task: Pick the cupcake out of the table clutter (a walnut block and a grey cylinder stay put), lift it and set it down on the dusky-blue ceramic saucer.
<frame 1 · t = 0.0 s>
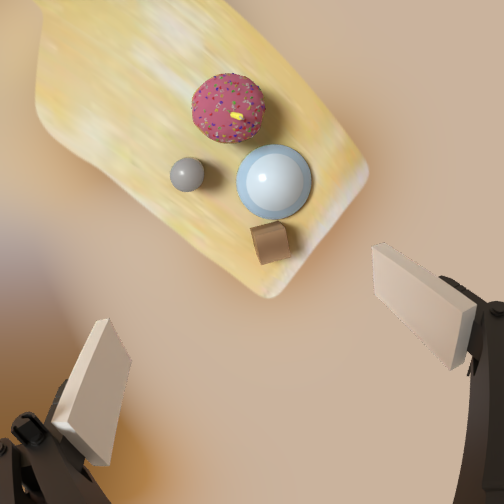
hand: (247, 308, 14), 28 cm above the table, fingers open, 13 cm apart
walnut block: (267, 237, 43), on the table
saucer: (273, 181, 40), on the table
cupcake: (225, 112, 36), on the table
grey cylinder: (188, 172, 38), on the table
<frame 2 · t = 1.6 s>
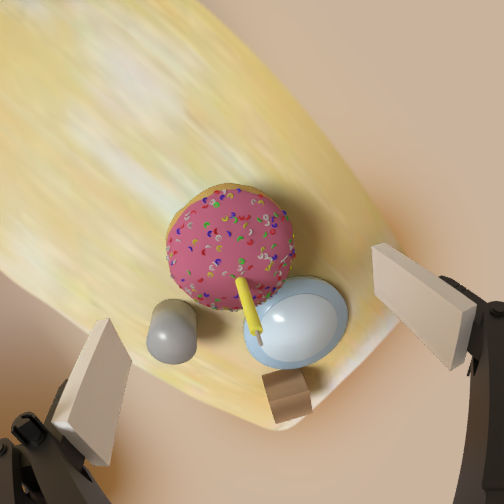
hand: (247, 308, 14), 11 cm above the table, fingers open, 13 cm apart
walnut block: (282, 381, 31), on the table
saucer: (295, 323, 28), on the table
cupcake: (225, 230, 24), on the table
grey cylinder: (174, 318, 26), on the table
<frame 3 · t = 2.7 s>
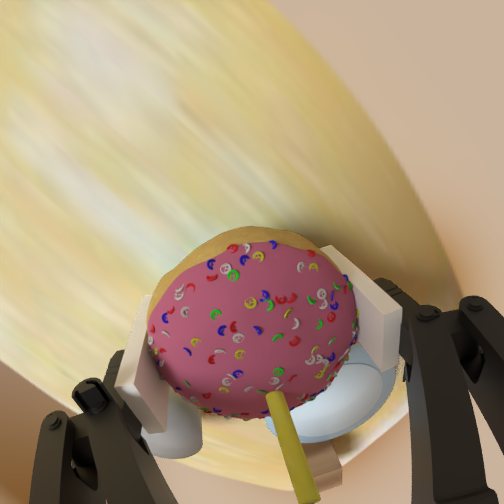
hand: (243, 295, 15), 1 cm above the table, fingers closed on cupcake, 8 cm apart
walnut block: (306, 450, 23), on the table
saucer: (329, 393, 20), on the table
cupcake: (240, 285, 16), on the table, touching gripper
grey cylinder: (170, 395, 18), on the table
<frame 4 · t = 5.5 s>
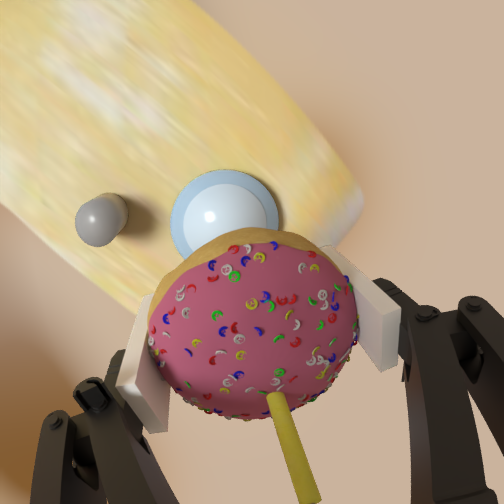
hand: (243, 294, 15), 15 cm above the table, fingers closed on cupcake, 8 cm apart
saucer: (224, 222, 29), on the table
cupcake: (241, 286, 16), point 14 cm above the table, touching gripper
grey cylinder: (109, 213, 27), on the table
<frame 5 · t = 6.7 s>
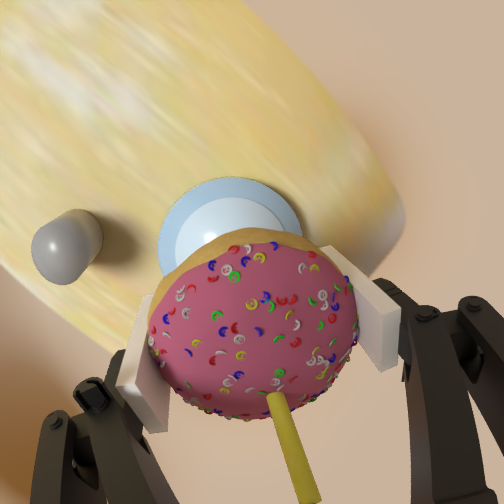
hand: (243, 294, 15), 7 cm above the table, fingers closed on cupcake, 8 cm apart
saucer: (230, 248, 22), on the table
cupcake: (241, 286, 16), point 6 cm above the table, touching gripper
grey cylinder: (78, 236, 20), on the table
when the fingers open (3 cm above the table, at t = 7.9 s): cupcake drops 1 cm, resting on saucer.
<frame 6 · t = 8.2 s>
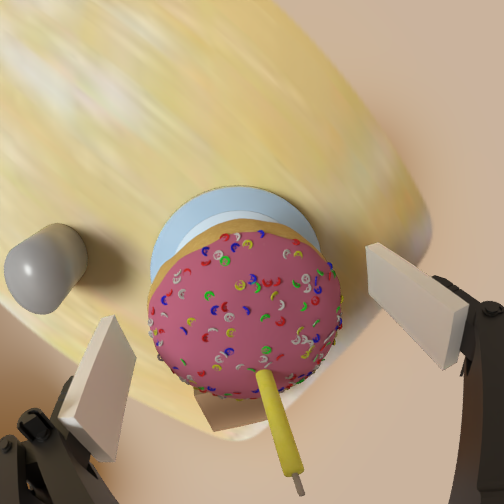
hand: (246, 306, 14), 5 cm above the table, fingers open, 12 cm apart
walnut block: (228, 368, 21), on the table
saucer: (236, 269, 18), on the table
cupcake: (236, 276, 17), point 1 cm above the table, touching saucer
grey cylinder: (60, 254, 16), on the table
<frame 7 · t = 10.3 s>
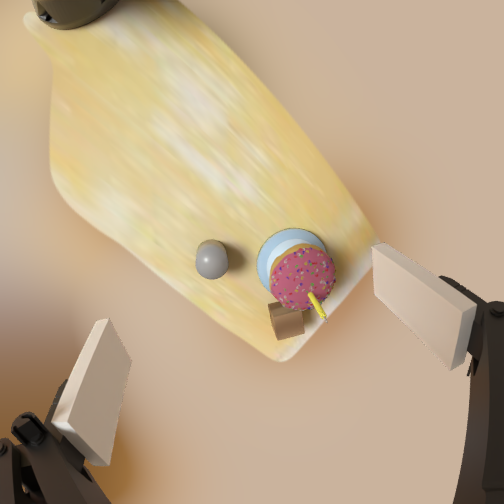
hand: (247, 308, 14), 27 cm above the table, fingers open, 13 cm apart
walnut block: (282, 312, 45), on the table
saucer: (291, 262, 43), on the table
cupcake: (292, 265, 42), point 1 cm above the table, touching saucer
grey cylinder: (211, 253, 41), on the table
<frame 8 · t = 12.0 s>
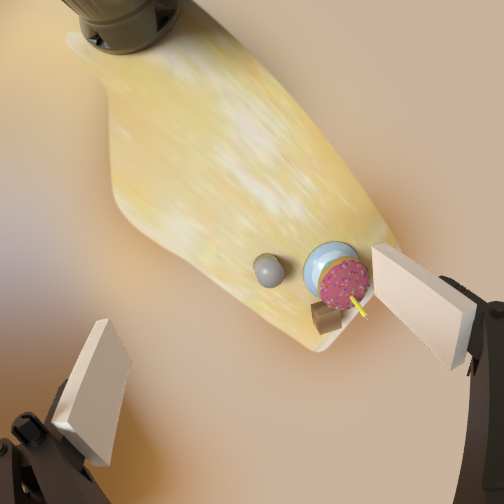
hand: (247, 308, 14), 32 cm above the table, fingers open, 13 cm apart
walnut block: (322, 310, 53), on the table
saucer: (331, 269, 50), on the table
cupcake: (332, 272, 49), point 1 cm above the table, touching saucer
grey cylinder: (266, 265, 48), on the table
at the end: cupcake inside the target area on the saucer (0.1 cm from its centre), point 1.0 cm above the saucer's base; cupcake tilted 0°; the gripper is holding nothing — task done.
